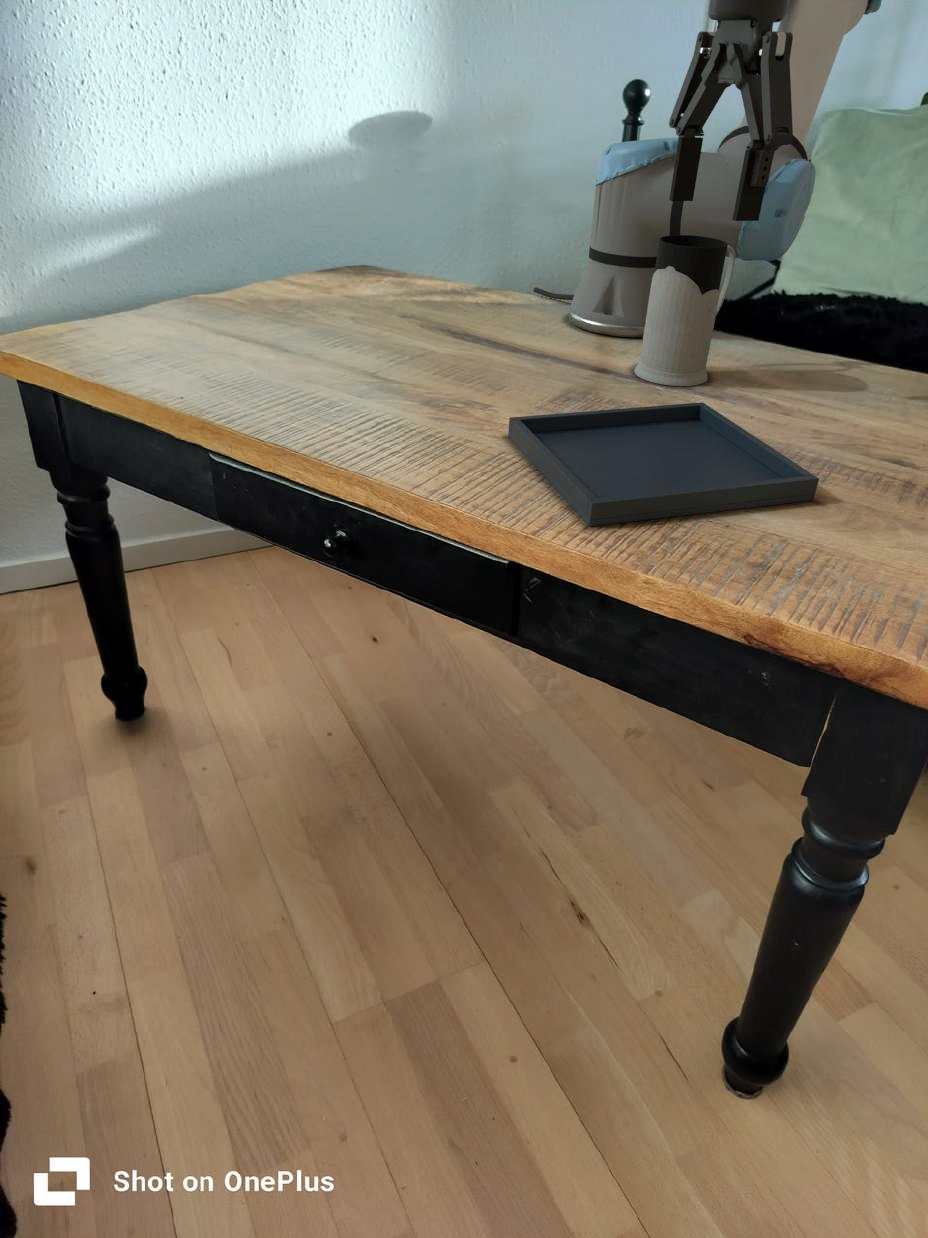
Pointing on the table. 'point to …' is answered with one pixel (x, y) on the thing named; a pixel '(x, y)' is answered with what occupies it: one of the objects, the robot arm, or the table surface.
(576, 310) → the robot arm
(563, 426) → the tray
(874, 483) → the table surface
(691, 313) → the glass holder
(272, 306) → the table surface
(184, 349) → the table surface
